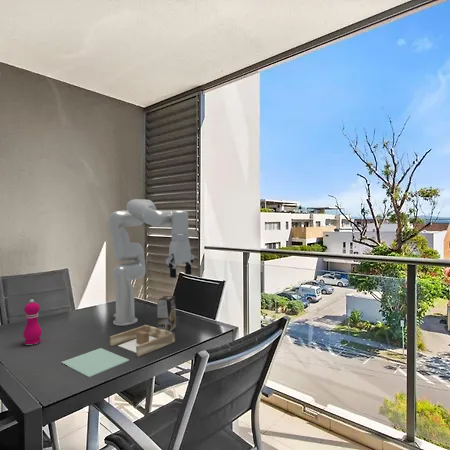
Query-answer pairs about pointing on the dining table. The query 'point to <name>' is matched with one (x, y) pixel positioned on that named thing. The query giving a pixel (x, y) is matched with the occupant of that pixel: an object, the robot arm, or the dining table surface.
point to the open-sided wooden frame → (160, 341)
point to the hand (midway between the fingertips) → (180, 275)
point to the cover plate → (133, 344)
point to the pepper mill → (32, 323)
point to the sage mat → (95, 362)
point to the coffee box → (166, 313)
